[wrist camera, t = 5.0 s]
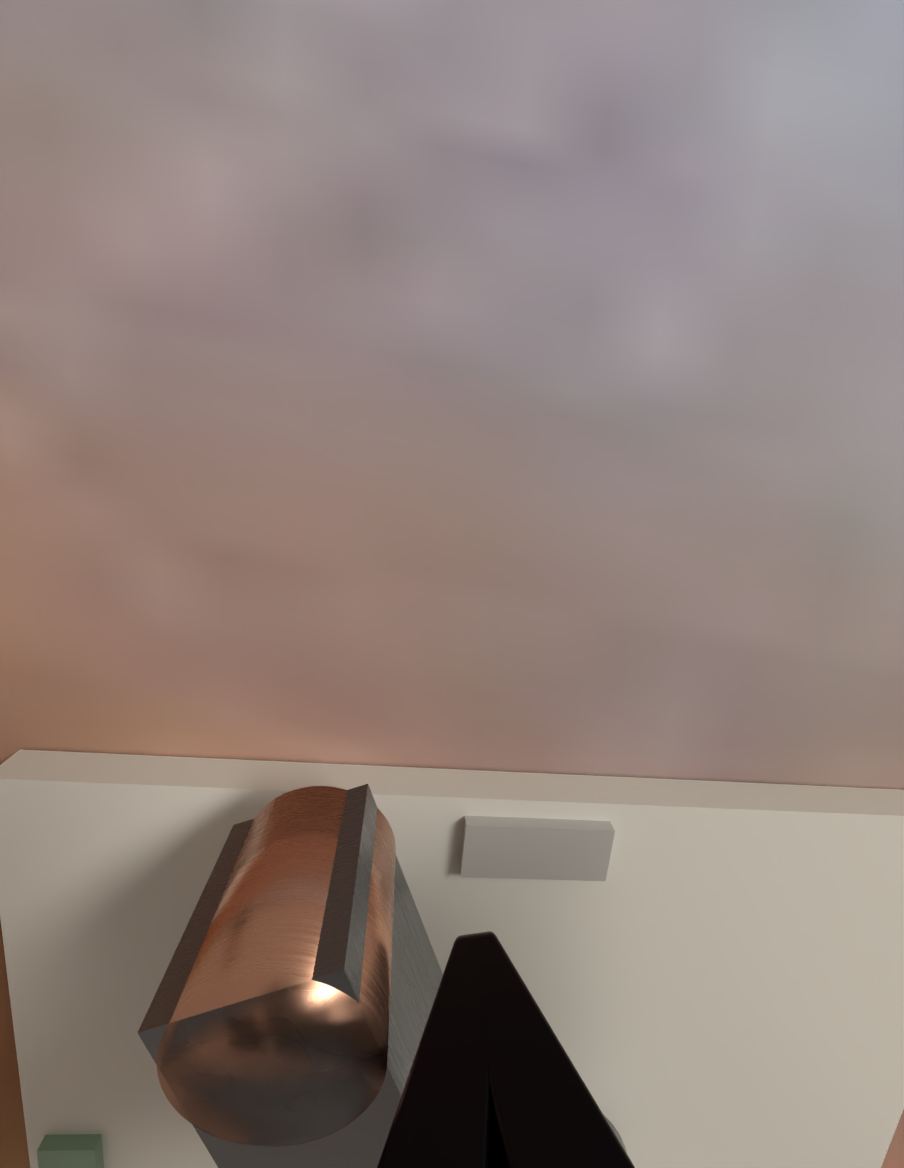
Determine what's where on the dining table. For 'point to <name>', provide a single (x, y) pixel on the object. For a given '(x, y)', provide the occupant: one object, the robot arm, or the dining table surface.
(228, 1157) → the lever
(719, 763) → the dining table surface
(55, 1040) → the plate
